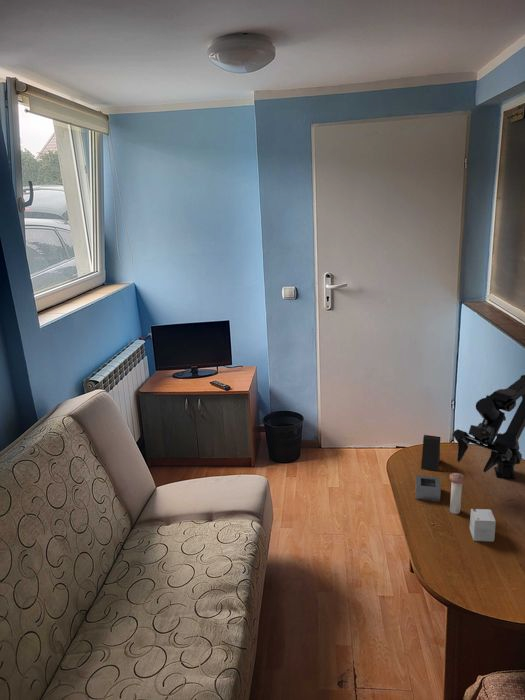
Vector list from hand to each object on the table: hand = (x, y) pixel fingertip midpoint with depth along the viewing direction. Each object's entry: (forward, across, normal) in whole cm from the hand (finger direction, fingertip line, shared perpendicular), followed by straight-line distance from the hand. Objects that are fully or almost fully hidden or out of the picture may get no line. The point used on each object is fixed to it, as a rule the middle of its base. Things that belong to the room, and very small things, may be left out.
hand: (470, 466), depth 172 cm
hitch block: (+14, -12, +5) cm, 19 cm away
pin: (+15, 0, +4) cm, 16 cm away
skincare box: (+19, +12, 0) cm, 22 cm away
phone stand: (+2, -22, +18) cm, 29 cm away
